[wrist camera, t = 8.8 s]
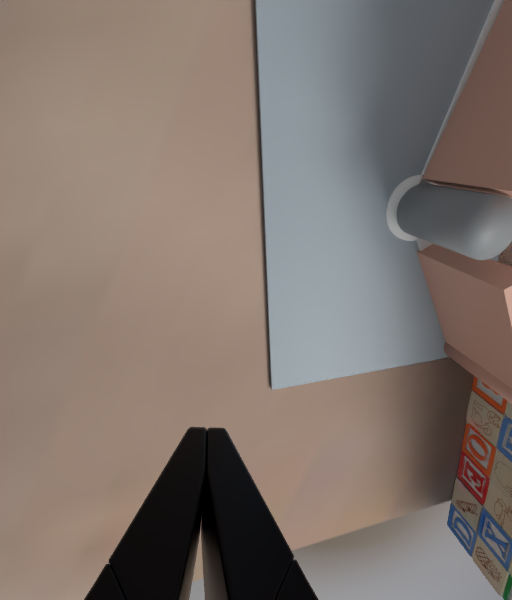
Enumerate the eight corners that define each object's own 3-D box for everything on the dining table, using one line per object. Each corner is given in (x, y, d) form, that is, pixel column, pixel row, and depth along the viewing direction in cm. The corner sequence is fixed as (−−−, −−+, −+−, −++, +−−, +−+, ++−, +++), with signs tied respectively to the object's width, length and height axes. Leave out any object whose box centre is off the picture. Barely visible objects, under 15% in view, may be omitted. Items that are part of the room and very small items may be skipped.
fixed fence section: (410, 253, 22) (507, 298, 16) (439, 236, 22) (547, 274, 16) (445, 360, 26) (534, 429, 20) (470, 345, 26) (567, 410, 20)
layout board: (271, 388, 24) (272, 391, 23) (247, -172, 14) (249, -179, 13) (476, 350, 26) (479, 353, 26) (581, -139, 16) (588, -144, 16)
